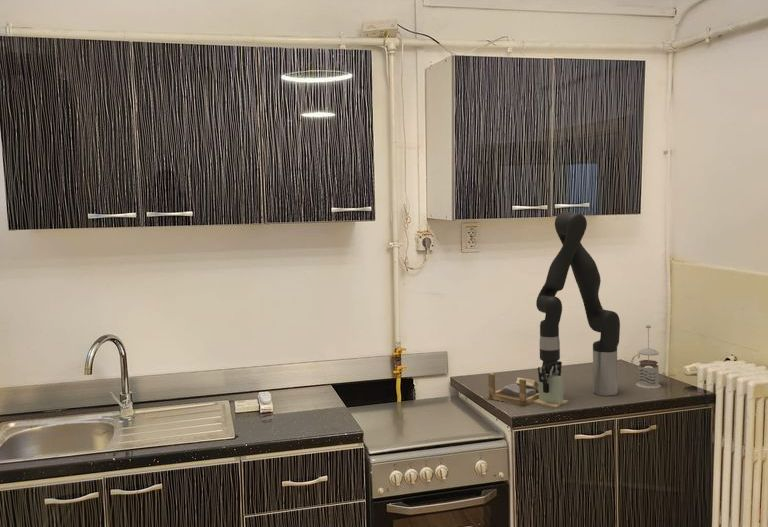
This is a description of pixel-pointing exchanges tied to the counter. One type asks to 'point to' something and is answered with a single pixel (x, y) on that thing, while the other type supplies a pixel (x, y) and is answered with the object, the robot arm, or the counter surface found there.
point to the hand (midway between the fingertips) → (550, 390)
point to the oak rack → (499, 396)
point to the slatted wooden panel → (549, 403)
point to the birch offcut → (530, 384)
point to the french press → (643, 379)
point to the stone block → (516, 391)
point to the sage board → (552, 390)
